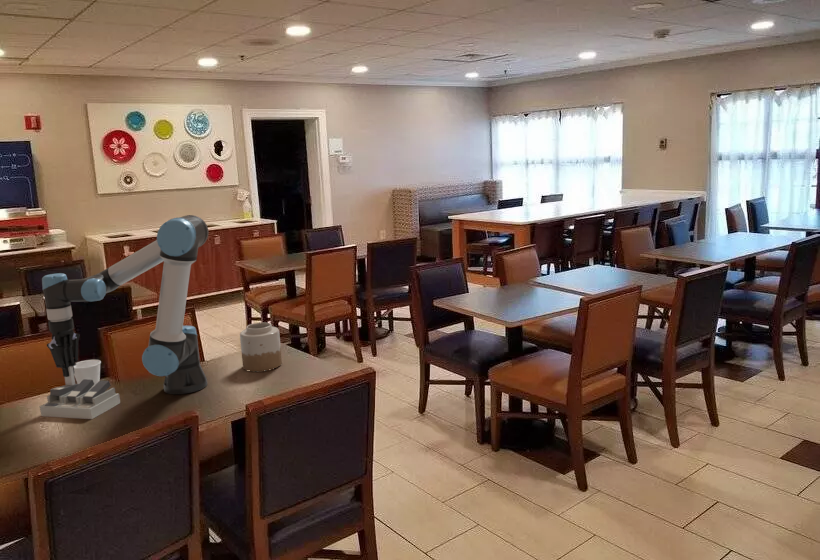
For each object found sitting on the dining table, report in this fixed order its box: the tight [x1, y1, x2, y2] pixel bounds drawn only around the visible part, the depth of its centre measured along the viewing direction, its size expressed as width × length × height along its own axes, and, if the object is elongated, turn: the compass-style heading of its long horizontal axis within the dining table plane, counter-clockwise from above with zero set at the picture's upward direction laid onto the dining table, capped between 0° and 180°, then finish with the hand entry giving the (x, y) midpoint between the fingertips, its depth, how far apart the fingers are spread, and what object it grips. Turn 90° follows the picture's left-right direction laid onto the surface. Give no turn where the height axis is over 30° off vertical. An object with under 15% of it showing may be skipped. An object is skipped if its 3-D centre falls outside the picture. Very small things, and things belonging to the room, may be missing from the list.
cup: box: [74, 359, 102, 391], centre depth 235 cm, size 10×10×11 cm
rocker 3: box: [83, 380, 111, 402], centre depth 218 cm, size 4×9×2 cm, turn 166°
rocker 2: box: [67, 379, 94, 402], centre depth 220 cm, size 4×9×2 cm, turn 166°
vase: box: [239, 322, 283, 372], centre depth 256 cm, size 15×15×17 cm
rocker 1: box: [49, 383, 79, 396], centre depth 221 cm, size 4×9×2 cm, turn 166°
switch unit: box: [39, 387, 121, 420], centre depth 219 cm, size 20×14×6 cm
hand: (70, 384), depth 224 cm, fingers closed
